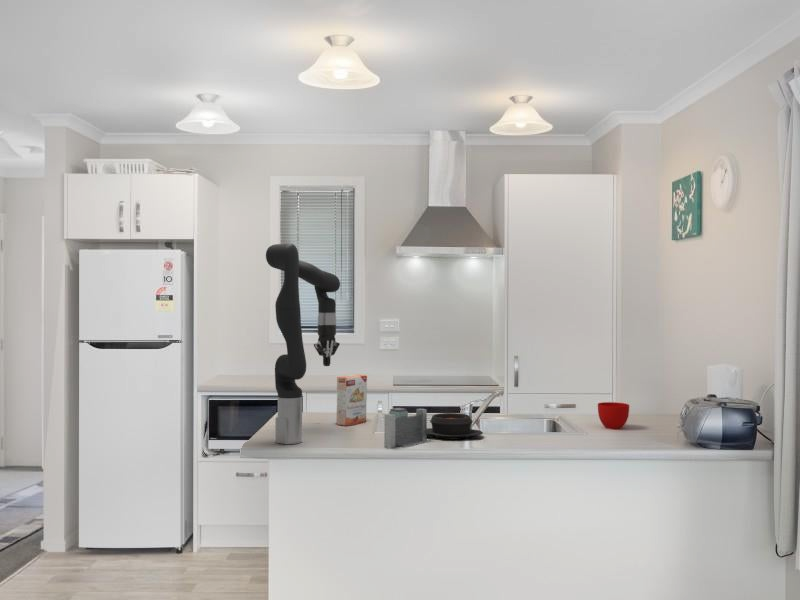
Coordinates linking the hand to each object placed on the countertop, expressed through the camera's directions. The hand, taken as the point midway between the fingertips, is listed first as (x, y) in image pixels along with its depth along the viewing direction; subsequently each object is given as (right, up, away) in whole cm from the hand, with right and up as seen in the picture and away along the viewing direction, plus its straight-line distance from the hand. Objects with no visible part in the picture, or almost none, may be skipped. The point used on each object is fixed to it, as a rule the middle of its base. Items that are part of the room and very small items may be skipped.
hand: (326, 366), depth 312 cm
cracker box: (+9, -27, +20) cm, 35 cm away
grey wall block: (+33, -27, -26) cm, 50 cm away
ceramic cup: (+121, -28, +13) cm, 125 cm away
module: (+29, -27, -23) cm, 46 cm away
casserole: (+50, -27, -10) cm, 58 cm away
